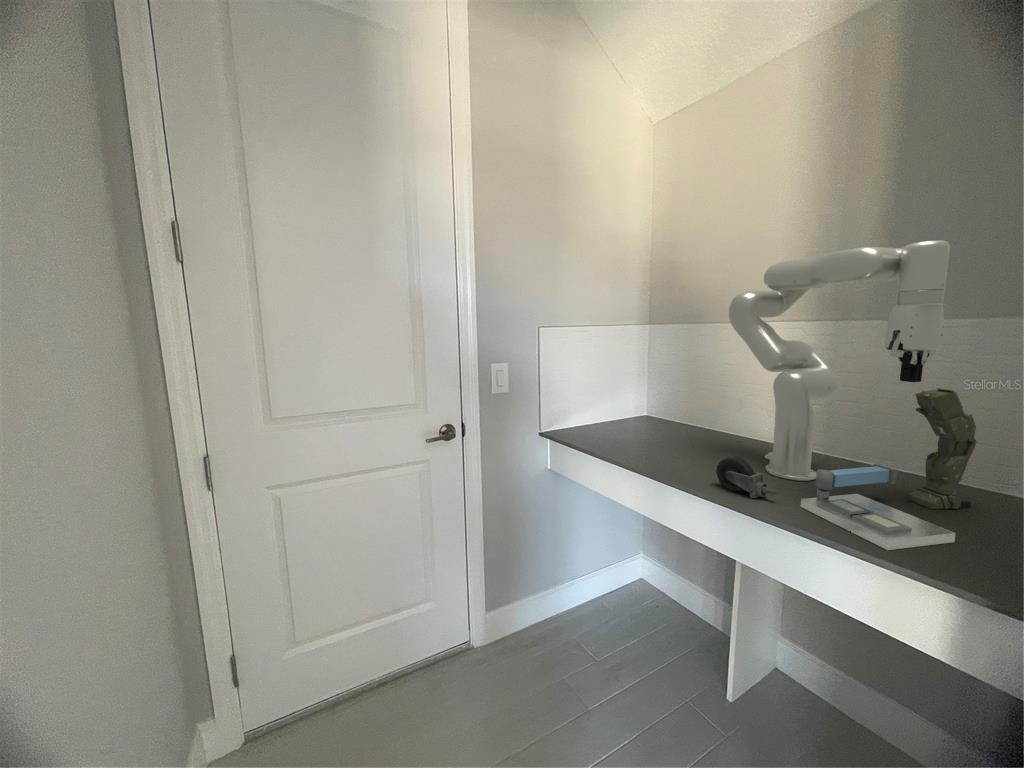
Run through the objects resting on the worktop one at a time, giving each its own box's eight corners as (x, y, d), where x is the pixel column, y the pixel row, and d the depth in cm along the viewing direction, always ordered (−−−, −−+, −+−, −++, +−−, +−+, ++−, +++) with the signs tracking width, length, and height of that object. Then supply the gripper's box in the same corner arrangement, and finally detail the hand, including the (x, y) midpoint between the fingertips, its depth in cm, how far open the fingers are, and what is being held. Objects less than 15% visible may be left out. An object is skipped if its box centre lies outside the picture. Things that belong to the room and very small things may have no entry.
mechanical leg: (958, 493, 102) (945, 380, 98) (992, 505, 95) (980, 384, 91) (906, 507, 102) (890, 395, 98) (936, 520, 95) (921, 400, 91)
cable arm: (826, 491, 95) (827, 475, 95) (809, 484, 100) (811, 469, 99) (895, 484, 98) (897, 468, 98) (876, 477, 103) (878, 462, 102)
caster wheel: (713, 490, 112) (772, 504, 99) (712, 456, 111) (770, 466, 99) (725, 486, 115) (782, 498, 102) (723, 452, 114) (781, 461, 102)
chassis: (799, 506, 99) (801, 488, 98) (855, 500, 101) (857, 483, 100) (887, 550, 79) (890, 528, 78) (954, 542, 81) (957, 520, 81)
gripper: (927, 300, 94) (918, 378, 96) (873, 301, 92) (865, 380, 94) (968, 298, 86) (957, 382, 89) (910, 298, 84) (900, 385, 87)
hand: (910, 381), depth 91 cm, fingers closed
